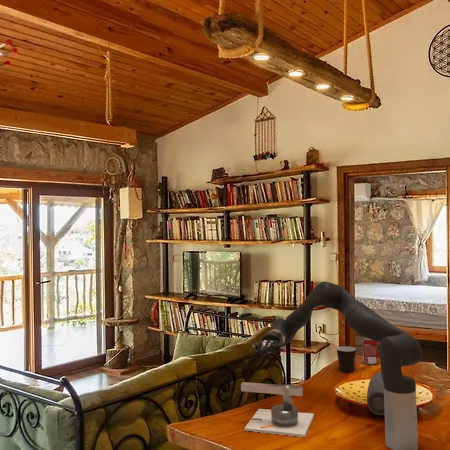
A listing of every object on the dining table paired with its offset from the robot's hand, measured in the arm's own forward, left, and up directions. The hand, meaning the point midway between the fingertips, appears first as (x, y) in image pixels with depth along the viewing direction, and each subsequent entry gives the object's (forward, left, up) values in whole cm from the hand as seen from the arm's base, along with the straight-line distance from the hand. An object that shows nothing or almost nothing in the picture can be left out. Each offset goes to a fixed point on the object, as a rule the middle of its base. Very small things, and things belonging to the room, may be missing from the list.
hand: (262, 352), depth 180 cm
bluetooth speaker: (-39, -18, -23) cm, 49 cm away
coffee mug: (-22, -59, -23) cm, 67 cm away
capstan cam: (-5, +7, -21) cm, 22 cm away
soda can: (-32, -75, -23) cm, 85 cm away
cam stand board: (-7, +6, -22) cm, 24 cm away
